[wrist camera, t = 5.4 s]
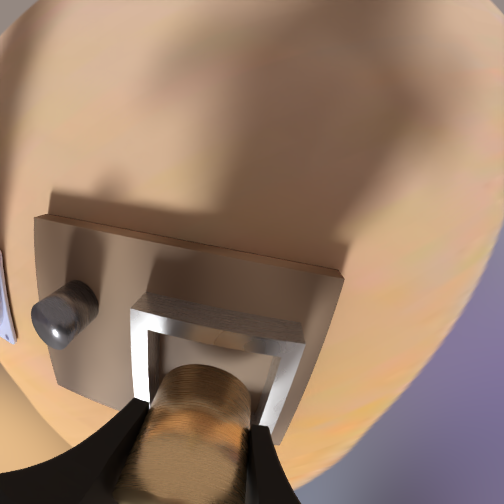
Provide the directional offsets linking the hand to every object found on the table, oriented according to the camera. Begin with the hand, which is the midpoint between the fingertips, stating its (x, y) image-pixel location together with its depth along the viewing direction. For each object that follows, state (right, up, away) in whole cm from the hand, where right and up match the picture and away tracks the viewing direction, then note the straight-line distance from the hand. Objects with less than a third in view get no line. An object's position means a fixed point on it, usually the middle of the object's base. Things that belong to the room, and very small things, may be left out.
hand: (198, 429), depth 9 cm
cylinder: (0, +1, +2) cm, 2 cm away
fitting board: (-3, +2, +5) cm, 6 cm away
